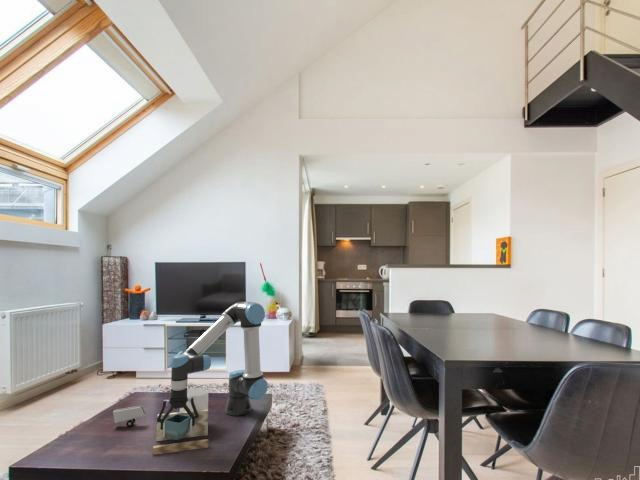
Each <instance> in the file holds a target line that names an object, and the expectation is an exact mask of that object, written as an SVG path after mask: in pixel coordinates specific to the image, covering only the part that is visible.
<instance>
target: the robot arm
mask: <svg viewBox="0 0 640 480" xmlns="http://www.w3.org/2000/svg"><path fill="white" fill-rule="evenodd" d="M265 317H266V311H265V308H264V307H263V305H262V304H261V303H258V302H252V301H243V300H242V301H241V300H240V301H237V302H235V303H233V304H232V305H231V306H229V307H228V308H226V309H225V310H224V311H223V312H222V313H221V317H219V318H218V319H217V320H216V321H215V322H214V323H213V324H212V325H211V326H210V327H208V329H207V330H205V331H204V332H203V333H202V335H200V337H198V338H197V339H196V340H195V341H194V342H192V344H191V345H190V346H188V348H187V349H185V350H181V351H178V352H177V354H176V355H173V357H172V358H171V367H170V368H171V375H170V376H171V377H170V397H169V399H166V398H165V399H163V403H162V406H161V409H160V411H159V413H158V414H159V416H158V418H157V417H156V423H157V422H160V423H161V430H163V437H165V419H166V418H167V416H168V415H169V414H170V413H172V411H174V410H177V409H180V408H184V409H185V410H186V412H187V413H188V414H189V416H190V417H191V420H190V434H192V426H194V424H195V419H196V418H198V417H199V414H198V412H197V409H196V406H195V404H194V397H191V398H187V389H188V381H189V380H188V379H189V377H188V375H190V374H195V373H199V372H204V371H207V370H209V369H210V368H211V366H212V360H211V357H210V356H209V354H203V353H204V352H205V351H206V350H208V349H209V347H211V346H212V345H214V343H215V341H217V340H218V339H219V338H220V337H222V335H223V334H224V333H225V332H226V331H227V330H228V329H230V327H233V326H235V325H236V324H237V323H239V322H240V328H241V329H242V330H243V349H244V369H238V370H233V371H231V372H229V375H228V398H227V402H226V405H225V410H224V411H225V414H227V415H228V416H233V417H234V416H238V417H239V416H244V415H248V414H250V413H251V412H252V403H251V400H255V401H257V400H259V401H260V400H261V399H262V398H263V397H264V396H265V395H266V393H267V391H268V389H269V388H268V387H269V384H268V381H267V380H266V379H265V378H264V372H263V371H262V370H261V356H260V355H261V353H260V352H261V350H260V328H261V326H262V323H263V322H264V319H265ZM187 401H189V402H190V403H191V405H192V408H193V411H194V413H195V415H194V414H193V413H192V412H191V410H190V409H189V408H188V406H187V405H186V403H187ZM168 404H170V406H169V408H168V409H167V411H166V412H165V413H164V411H165V410H166V407H167V406H168ZM162 414H165V415H164V416H163V418H162V419H161V416H162Z"/></svg>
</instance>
